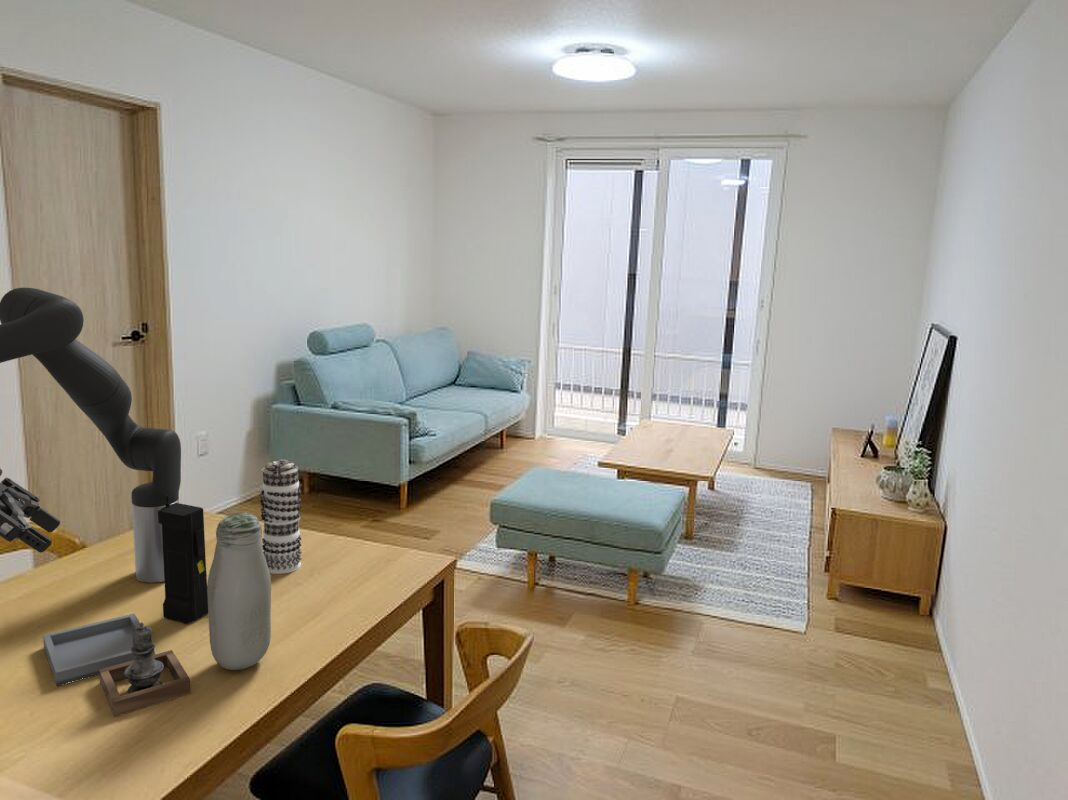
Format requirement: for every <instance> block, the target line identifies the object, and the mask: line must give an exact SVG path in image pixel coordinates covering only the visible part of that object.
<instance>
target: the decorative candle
mask: <svg viewBox="0 0 1068 800" xmlns="http://www.w3.org/2000/svg"><path fill="white" fill-rule="evenodd" d="M299 470H300V467H299V466H298V465H296V464H295V463H294V462H293V461H291V460H288V459H275V460H271V461H269V462H267V463H266V464H265V466H263V467H262V468H261V472H262V490H261V491H260V493H259V497H260V499H259V502H260V505H261V508H260V512H261V514H260V517H261V520H262V522H263V523H264V524H263V525H264V530H262V534H263V537H262V547H263V553H264V556H265V559H266V562H267V566H268V569H269V573H270V574H273V575H274V574H275V575H282V574H289V573H292V572H295V571H297V570H299V569H300V568H301V566H302V563H301V560H302V557H301V554H302V553H303V552H302V551H301V548H300V547H301V546H302V544H301V540H302V537H301V535H300V534H301V533H300V527H299V526H300V523H299V522H300V521H299V520H301V516H302V514H301V513H300V512H299V511H300V510H301V509H302V508H303V506H302V504H301V502H302V501H303V500H302V499H301V498H300V497H299V496H300V495H302V494H303V491H302V490H301V488H302V487H303V485H302V483H301V482H300V481H299Z"/></svg>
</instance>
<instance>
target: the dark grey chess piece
mask: <svg viewBox="0 0 1068 800" xmlns="http://www.w3.org/2000/svg"><path fill="white" fill-rule="evenodd" d="M155 648H156V645H155V643H154V642H153V631H152V628H151V627H150V626H146V625H145V623H143V622H140V627H138V628H136V629H135V630H134V631H133V647H132V648H131V652H132V653H133V658H134V661H133V664H131V665H130V666H128V667H127V668H126V670H125V672H124V674H125V676H126V677H127V679H126V680H127V682H128V683H129V684H130V686H128V689H127V694H130V693H134V692H137V691H140V690H144V689H147V688H150V687H154V686H157V685H161V684H164V682H162V681H161V680H160V678H161V675H162V673H163V672H162V671H163V670H164V669H163V668H164V664H163V663H162V662H161V661H158V660H155V659H154V654H153V650H154V651H155Z"/></svg>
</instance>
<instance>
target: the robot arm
mask: <svg viewBox="0 0 1068 800" xmlns="http://www.w3.org/2000/svg"><path fill="white" fill-rule="evenodd" d="M84 319H85V318H84V314H83V311H82V309H81V307H80V306H79V305H78V304H77V303H76V302H74V301H73V300H72V299H70V298H67V297H64V296H62V295H59V294H56V293H52V292H50V291H49V292H48V291H45V290H43V289H39V288H35V287H15V288H13V289H11V290H9V291H7V292H6V293H5V294H4V295H3V296H2V297H1V299H0V364H2V363H5V362H10V361H12V360H17V359H19V358H24V357H28V356H31V355H32V356H33V357H34V358H35V359H37V361H38V362H39V363H40V364H41V365H42V366H43V367H44V368H45V370H46V371H47V372H48V373H49V374H50V376H51V377H52V378H53V380H54V381H56V382H57V384H58V385H59V386H60V387H61V388H62V389H63V390H64V391H65V392H66V394H67V395H68V396H69V397H70V399H71V400H72V401H73V403H74V404H75V405H76V406H77V407H78V409H80V410H81V411H82V412H83V413H84V415H85V416H87V417H88V419H90V421H92V423H93V424H94V426H96V427H95V428H97V429H98V430H99V432H101V433H102V436H104V437H105V439H106V440H107V443H108V444H109V445H110V446H111V448H112V450H113V451H114V453H115V454H116V456H117V457H118V459H119V460H120V462H121V463H122V464H123V465H125V466H126V467H127V468H129V469H131V470H134V471H135V470H136V471H143V472H152V480H151V481H149V482H145V483H143V484H140V485H137V486H135V487H134V488H133V489H132V491H131V495H130V496H131V513H132V514H131V515H132V526H133V529H132V530H133V531H132V532H133V547H134V565H135V577H136V579H137V580H138V581H140V582H143V583H160V582H161V583H162V582H165V580H164V560H163V539H162V524H159V523H158V511H159V510H160V509H161V508H163V507H166V505H165V504H166V503H167V502H166V496H165V495H169V496H168V503H169V504H170V505H171V504H173V503H180V496H179V495H180V494H179V493H180V488H181V487H180V486H181V481H182V480H181V479H182V475H181V473H182V471H181V470H182V467H181V466H182V444H181V439H180V438H179V435H178V434H177V432H176V431H174V430H173V429H172V430H171V429H167V428H164V429H163V428H156V427H155V428H154V427H153V428H152V427H144V426H140V425H138V423H136V421H134V420H133V419H132V418H131V416H130V415H129V413H130V410H131V406H132V402H133V398H132V397H133V395H132V392H131V390H130V387H129V386H128V384H127V383H126V381H125V380H124V378H122V376H121V375H120V374H119V372H118V371H117V370H116V368H114V366H112V365H111V364H110V363H109V362H108V361H106V360H105V359H104V358H103V357H102V356H100V355H99V354H97V353H96V352H94V351H93V350H92V349H90V348H89V347H88V346H86V345H85V344H83V343H81V342H80V341H79V340H77V339H78V337H79V336H80V334H81V332H82V330H83V327H84V322H85V321H84ZM2 474H3V470H2V468H0V477H1V476H2ZM40 501H41V500H40V498H39V497H38V496H36V495H35V494H33V493H31V492H30V491H28V490H27V489H25V488H24V487H23V486H21V485H20V484H18V483H17V482H15V481H14V480H12V479H11V478H9V477H5V478H3V480H1V481H0V537H2V538H3V539H4V540H6V541H7V542H11V543H12V542H13V541H14V540H16V541H18V540H20V541H21V542H23V543H24V544H26V545H28V546H29V547H30V548H31V549H34V550H35V551H36V552H38V553H40V554H41V553H45V551H46V550H48V549H49V547H50V546H52V543H53V540H52V539H51V538H50V537H49V536H47V535H45V534H43V533H42V532H41V531H40V530H37V529H36V528H35V527H33V526H31V524H30V523H29V522H28V521H27V520H26V519H25V518H27V519H29V520H30V521H31V522H32V523H34V524H35V525H37V526H38V527H40V528H41V529H43V530H44V531H46V532H47V533H53V532H54V531H55V530H56V529H57V528H59V526H60V525H61V520H60V519H58V518H57V517H55V516H54V515H52V514H51V513H50V512H48V511H47V510H45V509H44V508H42V505H41V504H40Z"/></svg>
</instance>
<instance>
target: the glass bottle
mask: <svg viewBox="0 0 1068 800" xmlns="http://www.w3.org/2000/svg"><path fill="white" fill-rule="evenodd" d="M215 538H216V543H215V547H214V548H215V549H214V553H213V559H212V562H211V566H210V569H209V574H208V577H207V593H208V614H207V615H208V628H209V629H208V631H209V644H210V651H211V653H212V656H213V659H214V661H215V662H216V663H217V664H218V665H220V666H221V667H223V668H224V669H227V670H230V671H239V670H244V669H247V668H250V667H253V666H254V665H256V664H257V663H259V662H260V661H261V659H263V658H264V656H265V655H266V654H267V651H268V649H269V647H270V644H271V638H272V622H271V621H272V620H271V617H272V616H271V615H272V613H271V611H272V609H271V608H272V580H271V573H269V569H268V566H267V562H266V559H265V556H264V553H263V551H264V550H263V547H262V545H263V543H262V542H263V541H262V539H263V528H262V525H261V523H260V520H259V519H258V517H257V516H256V515H254V514H252V513H250V512H236V513H232V514H229V515H227V516H224V518H222V519H221V520H220V521H219V522H218V524H217V526H216V532H215Z"/></svg>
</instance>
